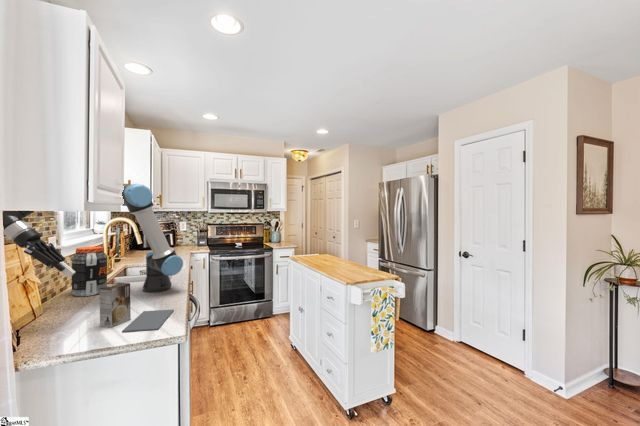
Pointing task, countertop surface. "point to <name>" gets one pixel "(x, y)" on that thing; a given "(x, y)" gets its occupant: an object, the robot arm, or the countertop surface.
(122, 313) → the coffee box
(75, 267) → the supplement tub
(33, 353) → the countertop surface
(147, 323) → the mat
